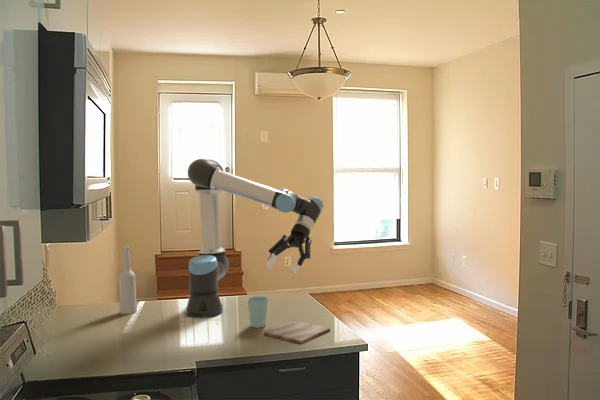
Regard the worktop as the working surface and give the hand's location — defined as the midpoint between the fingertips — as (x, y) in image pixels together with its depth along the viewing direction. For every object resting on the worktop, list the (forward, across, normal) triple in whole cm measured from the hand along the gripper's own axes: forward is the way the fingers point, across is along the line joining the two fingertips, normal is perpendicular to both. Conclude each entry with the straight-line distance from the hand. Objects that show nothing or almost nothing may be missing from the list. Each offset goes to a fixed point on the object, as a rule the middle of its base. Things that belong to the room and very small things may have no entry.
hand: (280, 269), depth 197 cm
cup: (+23, +1, -5) cm, 24 cm away
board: (+22, -17, -6) cm, 28 cm away
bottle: (+35, +60, +8) cm, 70 cm away
